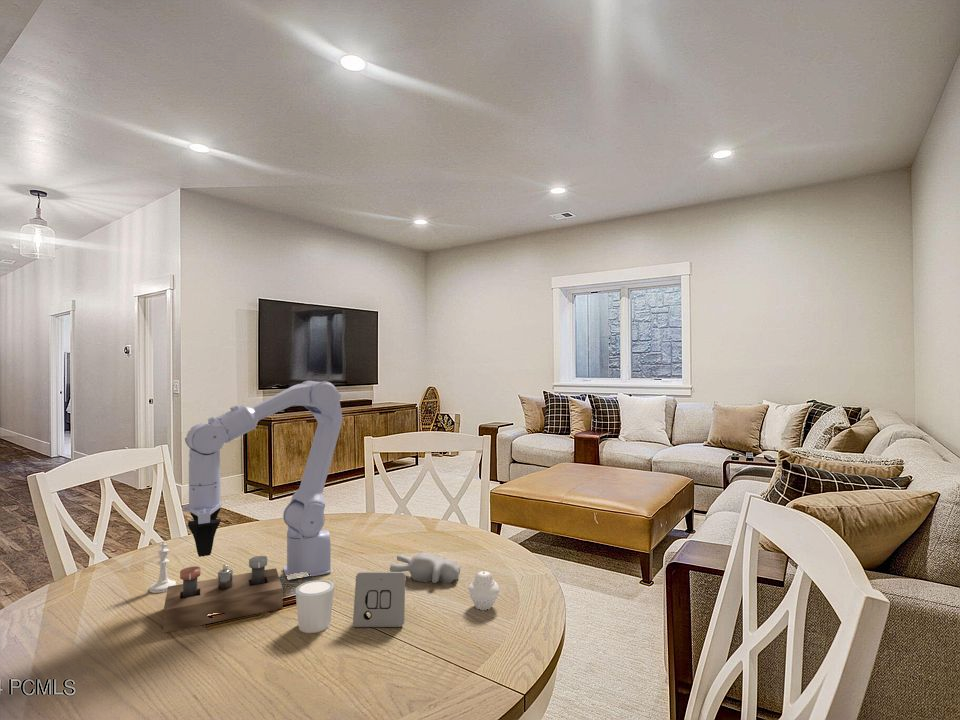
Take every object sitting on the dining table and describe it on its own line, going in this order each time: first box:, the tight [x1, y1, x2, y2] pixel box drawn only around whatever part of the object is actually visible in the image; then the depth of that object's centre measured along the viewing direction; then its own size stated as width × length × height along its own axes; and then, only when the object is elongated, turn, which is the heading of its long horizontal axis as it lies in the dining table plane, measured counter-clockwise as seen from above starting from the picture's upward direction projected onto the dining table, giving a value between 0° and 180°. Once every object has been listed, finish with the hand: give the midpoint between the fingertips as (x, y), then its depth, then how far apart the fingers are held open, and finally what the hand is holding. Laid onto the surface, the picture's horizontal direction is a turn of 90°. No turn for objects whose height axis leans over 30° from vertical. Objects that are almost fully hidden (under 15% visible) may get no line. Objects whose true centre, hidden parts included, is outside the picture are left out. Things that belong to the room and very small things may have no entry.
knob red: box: [179, 566, 201, 598], centre depth 99 cm, size 3×4×5 cm
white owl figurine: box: [467, 570, 500, 611], centre depth 102 cm, size 6×6×7 cm
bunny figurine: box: [389, 551, 461, 584], centre depth 116 cm, size 10×5×15 cm
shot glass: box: [294, 579, 335, 634], centre depth 95 cm, size 7×7×7 cm
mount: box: [162, 568, 284, 634], centre depth 102 cm, size 20×11×4 cm, turn 118°
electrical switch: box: [352, 571, 407, 628], centre depth 97 cm, size 9×5×9 cm, turn 90°
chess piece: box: [149, 540, 177, 594], centre depth 111 cm, size 5×5×10 cm
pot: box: [217, 564, 233, 590], centre depth 102 cm, size 3×3×4 cm
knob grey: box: [248, 555, 268, 586], centre depth 104 cm, size 3×4×5 cm
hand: (205, 549), depth 106 cm, fingers open, 7 cm apart
